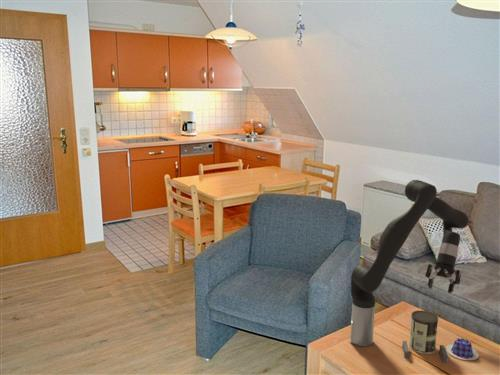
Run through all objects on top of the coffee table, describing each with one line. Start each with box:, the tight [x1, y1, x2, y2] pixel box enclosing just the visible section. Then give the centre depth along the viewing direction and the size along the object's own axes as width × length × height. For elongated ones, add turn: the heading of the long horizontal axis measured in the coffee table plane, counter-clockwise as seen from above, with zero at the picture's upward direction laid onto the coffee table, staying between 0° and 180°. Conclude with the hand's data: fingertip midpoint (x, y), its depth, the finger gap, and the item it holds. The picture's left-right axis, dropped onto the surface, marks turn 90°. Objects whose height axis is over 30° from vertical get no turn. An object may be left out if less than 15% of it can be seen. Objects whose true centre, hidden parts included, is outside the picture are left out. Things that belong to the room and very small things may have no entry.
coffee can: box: [408, 310, 439, 355], centre depth 183 cm, size 10×10×14 cm
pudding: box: [445, 337, 480, 361], centre depth 180 cm, size 12×12×5 cm
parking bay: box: [401, 340, 449, 364], centre depth 179 cm, size 16×8×3 cm, turn 78°
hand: (439, 290), depth 194 cm, fingers open, 8 cm apart
